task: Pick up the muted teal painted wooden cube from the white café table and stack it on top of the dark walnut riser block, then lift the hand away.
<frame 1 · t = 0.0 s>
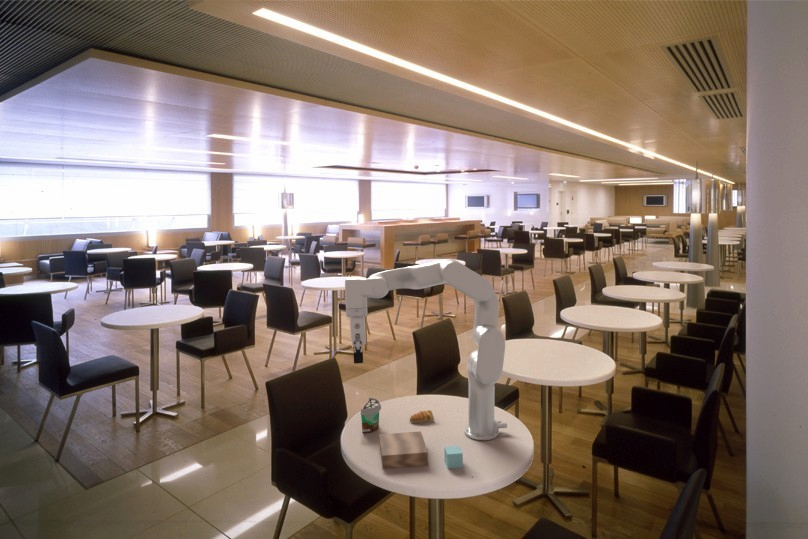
hand: (358, 358, 170), 31 cm above the table, tool pointing down, fingers open, 9 cm apart
food container: (373, 428, 185), on the table
teal cube: (453, 464, 158), on the table
walnut riser: (402, 455, 164), on the table
pastry: (423, 421, 191), on the table
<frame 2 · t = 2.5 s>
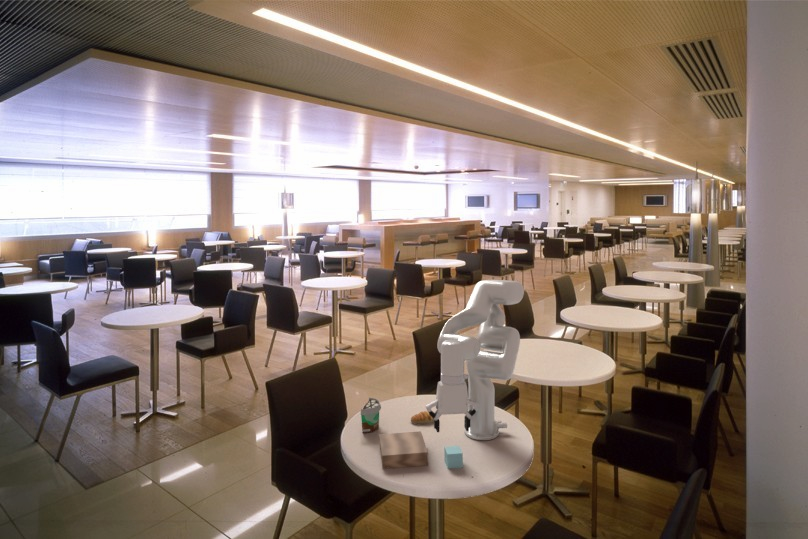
hand: (452, 429, 156), 12 cm above the table, tool pointing down, fingers open, 9 cm apart
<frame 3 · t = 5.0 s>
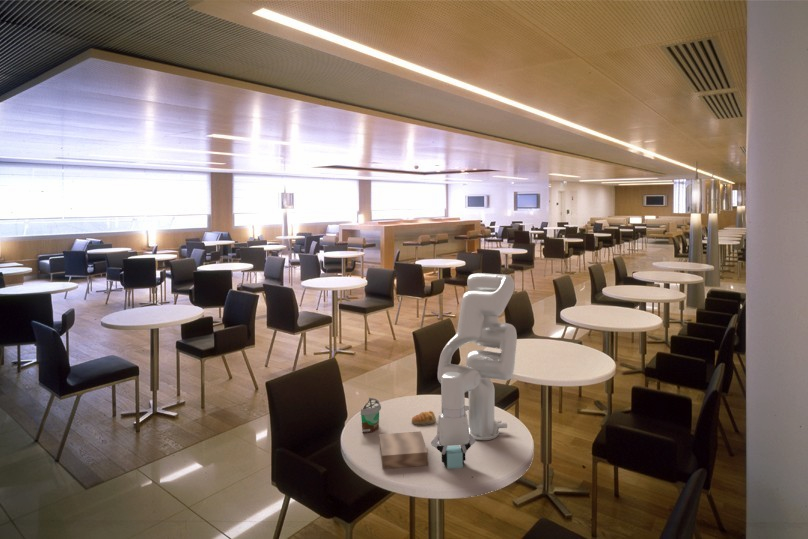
hand: (453, 462, 158), 0 cm above the table, tool pointing down, fingers closed on teal cube, 5 cm apart
teal cube: (453, 464, 158), on the table, touching gripper
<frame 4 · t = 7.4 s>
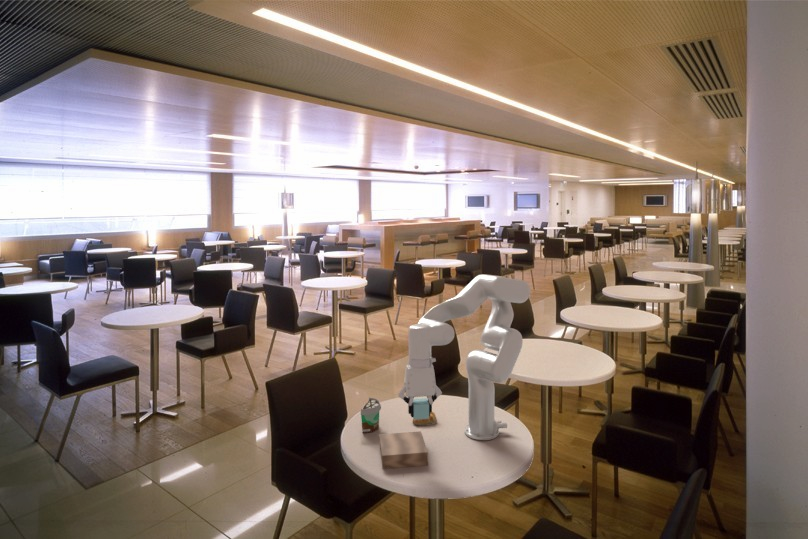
hand: (420, 414, 159), 16 cm above the table, tool pointing down, fingers closed on teal cube, 4 cm apart
teal cube: (420, 416, 159), point 15 cm above the table, touching gripper
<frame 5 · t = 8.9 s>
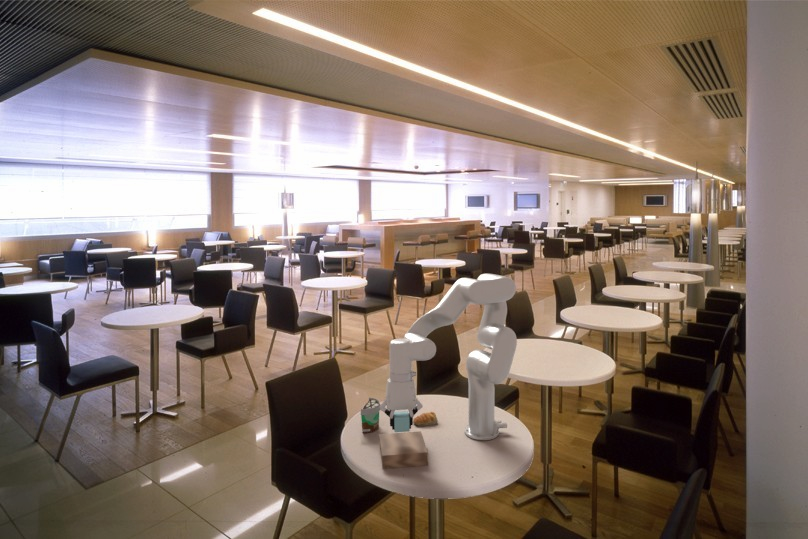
hand: (401, 427, 163), 10 cm above the table, tool pointing down, fingers closed on teal cube, 4 cm apart
teal cube: (401, 428, 163), point 10 cm above the table, touching gripper
when the fingers open (6 cm above the table, at t = 10.0 s): teal cube drops 1 cm, resting on walnut riser.
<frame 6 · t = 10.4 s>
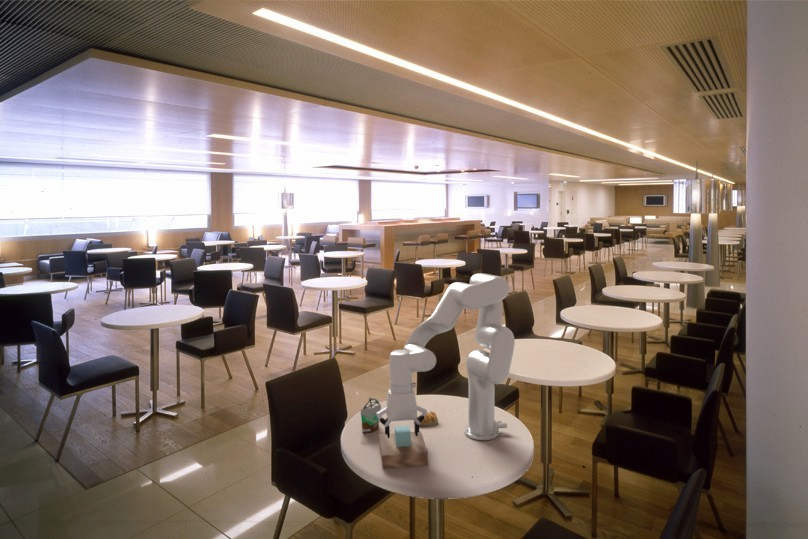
hand: (402, 435, 163), 7 cm above the table, tool pointing down, fingers open, 9 cm apart
teal cube: (402, 442, 163), point 4 cm above the table, touching walnut riser
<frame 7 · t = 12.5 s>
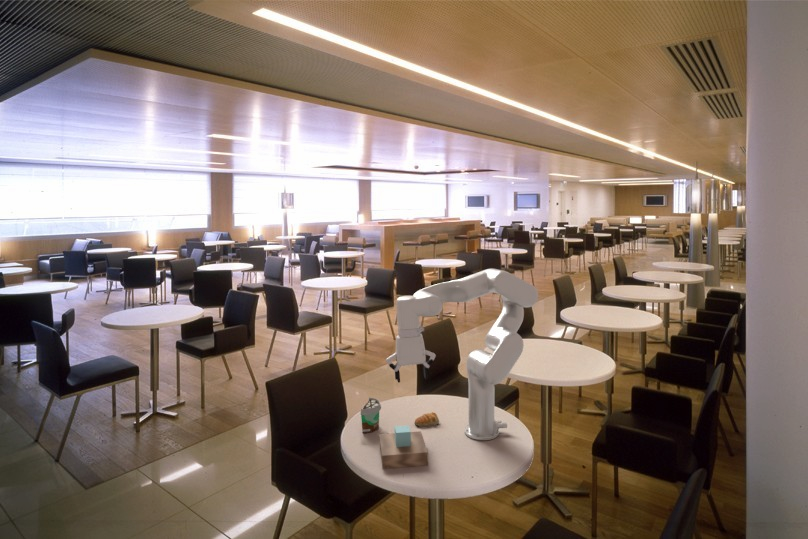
hand: (412, 379, 166), 25 cm above the table, tool pointing down, fingers open, 9 cm apart
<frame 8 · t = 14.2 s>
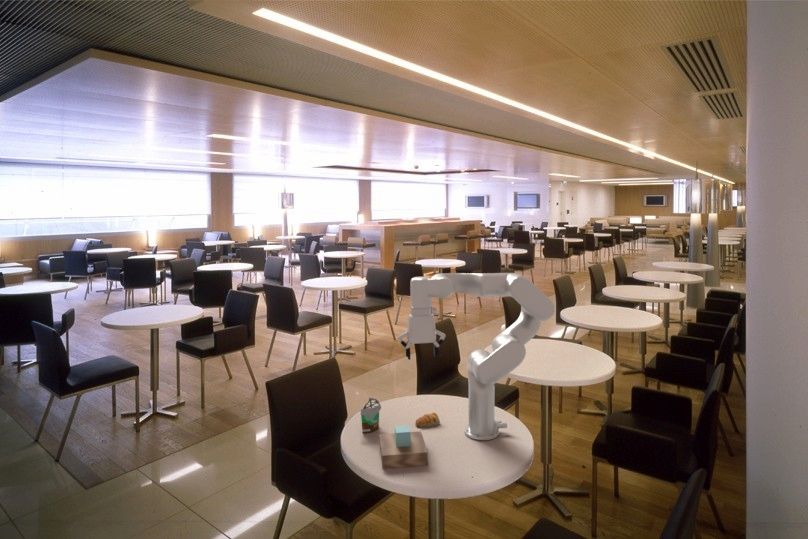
hand: (422, 357, 173), 30 cm above the table, tool pointing down, fingers open, 9 cm apart
at the end: teal cube inside the target area on the walnut riser (0.1 cm from its centre), point 4.5 cm above the walnut riser's base; teal cube tilted 0°; the gripper is holding nothing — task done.
